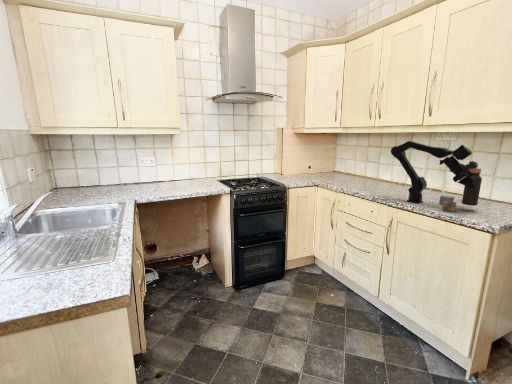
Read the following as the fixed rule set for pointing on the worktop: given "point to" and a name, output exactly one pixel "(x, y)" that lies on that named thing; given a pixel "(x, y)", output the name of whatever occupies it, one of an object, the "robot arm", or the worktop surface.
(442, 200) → the slate cube
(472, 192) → the vinegar
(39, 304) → the worktop surface
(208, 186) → the worktop surface
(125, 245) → the worktop surface
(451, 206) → the walnut cube
